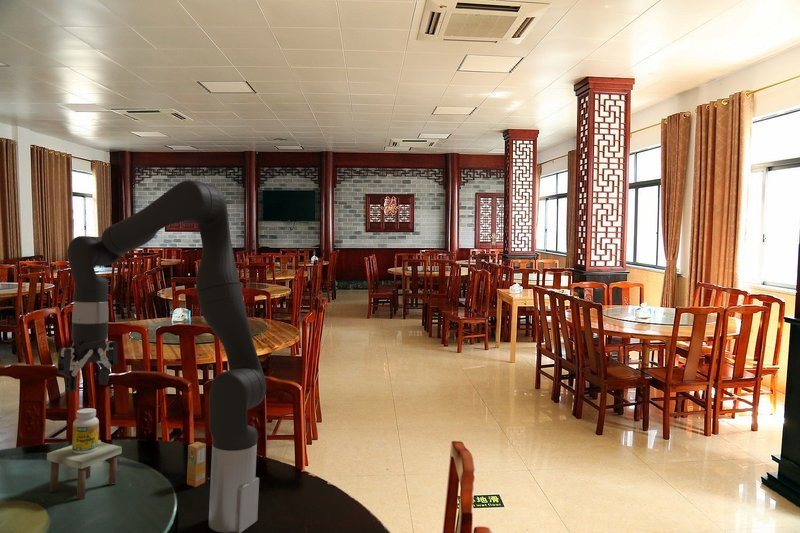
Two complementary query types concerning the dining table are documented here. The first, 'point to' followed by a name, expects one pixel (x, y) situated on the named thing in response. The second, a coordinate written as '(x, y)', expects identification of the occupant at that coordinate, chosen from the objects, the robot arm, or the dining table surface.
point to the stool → (83, 464)
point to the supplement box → (196, 464)
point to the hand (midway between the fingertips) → (87, 387)
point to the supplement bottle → (85, 431)
